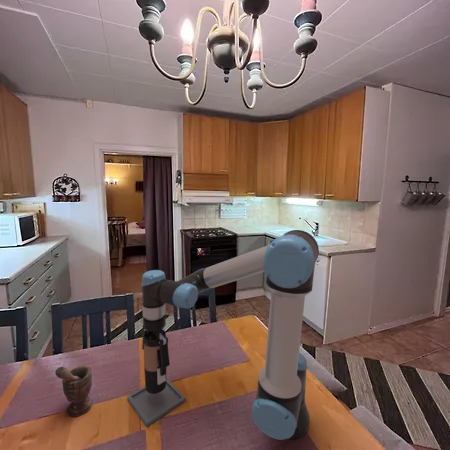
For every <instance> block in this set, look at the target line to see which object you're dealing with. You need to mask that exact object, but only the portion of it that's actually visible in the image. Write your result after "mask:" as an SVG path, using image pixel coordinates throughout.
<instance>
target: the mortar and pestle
mask: <svg viewBox="0 0 450 450" xmlns="http://www.w3.org/2000/svg"><path fill="white" fill-rule="evenodd" d="M54 373H55V376H56V378H59V379H61V383H62V390H63V394H64V396H65V398H66V401H67V402H70V404H69V406H68V408H67V409H66V413H67V414H68V416H70V417H75V418H78V417H80V416H82V415H84V414H86V413H87V412H88V411H89V410H90V409H91V407H92V404H93V400H92V398H91V397H90V396H89V394H90V392H91V389H92V385H93V377H92V367H91V366H89V365H79V366H75V367H73V368H71V369H70V370H68V368H66V367H65V366H60V367H58V368H56V369H55V372H54Z"/></svg>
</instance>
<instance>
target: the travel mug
mask: <svg viewBox="0 0 450 450" xmlns="http://www.w3.org/2000/svg"><path fill="white" fill-rule="evenodd" d="M147 332H148V331H147ZM147 332H146V333H145V334H144V350H143V366H144V367H143V368H144V387H145V386H146V391H147V392H148V393H151V394H157V393H160V392H161V391H163V390H164V389H165V387H166V381H165V382H163V383H161V384H159V385H158V380H157V366H159V365H158V360H157V349H158V350H160V346H159V342H160V339H159V340H152V339H151V335H150V337H148V336H147ZM162 332H163V337H164V338H166V337H167V333H166V331H165V330H164V329H162Z"/></svg>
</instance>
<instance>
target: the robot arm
mask: <svg viewBox="0 0 450 450" xmlns="http://www.w3.org/2000/svg"><path fill="white" fill-rule="evenodd" d="M319 249H320V248H319V245H318V242H317V240H316V239H315V237H314V236H313V235H312V234H311V233H309V232H307V231H305V230H301V229H292V230H289V231H286V232H285V233H283V234H282V235H279V236H278V237H276V238H274V239H272V240H270V241H268V244H267V245H265V246H262V247H260V248H259V247H258V248H257V249H254V250H251V251H248V252H246V253H243V254H241V255H238V256H235V257H231V258H230V259H227V260H224V261H221V262H219V263H215V264H214V265H211V266H208V267H204V268H200V269H197V270H195V271H194V272H193V273H190V274H189V275H187V276H185V277H183V278H181V279H179V280H176V281H175V280H171V279H167V278H166V274H165V272H164V271H163V270H160V269H153V270H147V271H145V272H144V273H143V274H142V277H141V290H142V291H141V292H142V296H141V297H142V306H141V307H142V344H141V345H142V346H141V348H142V350H143V351H144V334H145V333H146V332H147V331H148V332H147V336H148V337H150V335H151V339H152V340H159V339H160V342H159V346H160V350H158V349H157V360H158V365H159V366H157V380H158V385H159V384H161V383H163V382H165V381H166V378H167V368H168V367H169V366H170V365H171V364H170V355H169V354H170V353H169V344H168V343H169V338H168V336H166V338H164V337H163V332H162V330H164V328H165V326H166V321H167V320H166V305H169V306H174V307H177V308H182V309H191V308H192V307H194V306H195V304H196V302H197V301H198V298H199V294H202V293H203V292H205V291H209V290H211V289H213V288H217V287H219V286H224V285H226V284H229V283H233V282H236V281H239V280H243V279H245V278H249V277H253V276H255V275H258V274H262V273H265V275H266V276H265V277H266V279H265V280H266V281H265V285H266V287H268V288H269V290H270V302H269V314H268V327H267V335H266V337H267V339H266V351H265V361H264V364H265V365H264V368H262V369H261V370H260V371H259V374H258V379H257V381H258V382H257V392H256V397H255V399H254V401H253V403H252V407H251V417H252V420H253V422H254V424H255V425H256V427H258V429H259V430H260V431H261V432H262V433H263V434H265V435H267V436H268V437H270V438H272V439H275V440H279V441H283V440H296V439H299V438H301V437H303V436H305V435H306V434H307V432H308V431H309V428H310V415H309V410H308V407H307V404H306V385H307V384H306V383H307V382H306V381H307V370H308V366H307V365H308V363H307V362H308V361H307V359H306V357H305V355H303V354H302V353H300V348H301V347H300V346H301V339H302V329H303V317H304V310H305V309H304V308H305V300H306V296H307V295H309V294H310V293H312V291H313V287H314V286H313V285H314V277H315V276H314V274H315V266H316V263H317V260H318V258H319V253H320V251H319Z"/></svg>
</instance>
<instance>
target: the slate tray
mask: <svg viewBox="0 0 450 450" xmlns="http://www.w3.org/2000/svg"><path fill="white" fill-rule="evenodd" d="M127 401H128V402H129V404H130V406H131V407H132V409H133V410H134V411H135V414H137V416H138V417H139V418H140V420H141V421H142V423H143V424H144V425H145V427H146V428H149V427H150V426H152V425H153V424H154V423H156V422H157V421H159V420H160V419H162V418H163V417H165V416H166V415H169V413H171V412H172V411H174V410H176V409H177V408H179V407H180V406H181V405H183V404H184V403H186V402H187V398H186V397H185V395H184V394H183V393H182V392H181V391H180V390H179V389H178V388H177V387H176V386H175V385H174V384H173V383H172V382H171V381H170V380H169V379H168V378H167V377H166V387H165V389H164V390H163V391H161V392H160V393H157V394H151V393H148V392H147V391H146V386H145V385H144V386H143V387H141V388H140V389H137V390H136V391H134V392H132V393H130V394H128V395H127Z"/></svg>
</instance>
